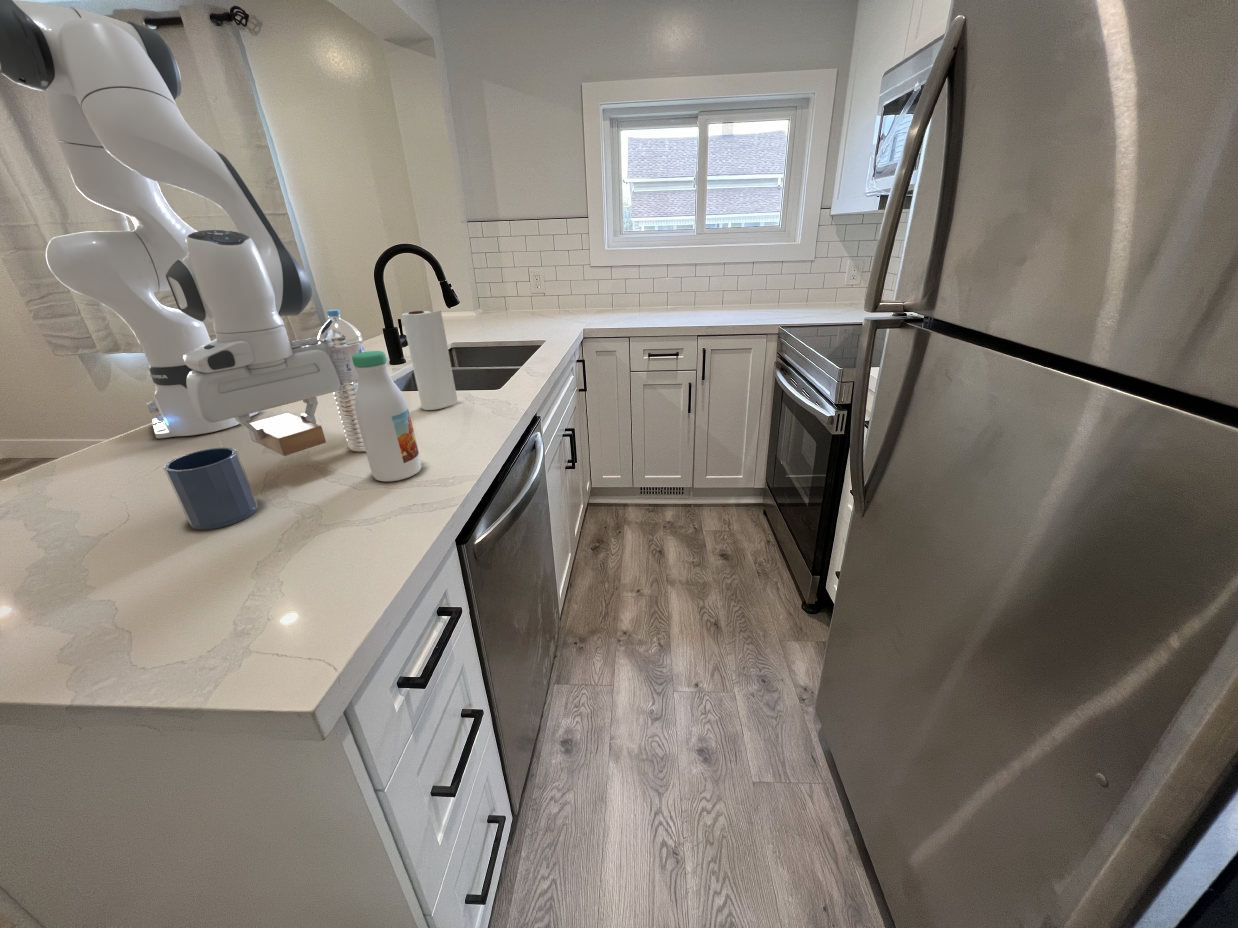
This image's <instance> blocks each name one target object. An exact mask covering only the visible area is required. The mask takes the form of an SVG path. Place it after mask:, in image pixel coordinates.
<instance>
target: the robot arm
mask: <svg viewBox="0 0 1238 928" xmlns="http://www.w3.org/2000/svg"><path fill="white" fill-rule="evenodd" d="M0 74H1V75H3V76H4V77H6V78H7V79H8V80H10V81H11V82H12V83H14V84H17V85H20V86H22V87H26V88H28V89H31V90H36V91H40V92H43V97H44V100H45V105H46V109H47V113H48V116H49V120H50V123H51V126H52V130H53V132H54V135H55V138H56V140H57V143H58V146H59V148H60V151H61V154H62V156H63V158H64V161H65V163H66V167H67V169H68V171H69V174H70V176H71V179H72V181H73V182H72V183H73V184H74V187H76V189H77V191H78V192H79V193H80V194H81V195H82V196H84V198H86V199H87V200H88V201H90V202H91V203H94V204H96V205H98V206H100V207H103V208H106V209H108V210H111V211H113V212H116V213H119V214H122V215H125V216H127V217H129V219H130V220H131V221H132V223H133V226H134V229H133V230H132V229H131V230H111V231H110V230H106V231H105V230H103V231H101V230H100V231H99V230H98V231H81V232H74V233H69V234H64V235H59V236H54V237H52V238H51V239H50V240H49V242H48V244H47V245H46V249H45V259H46V263H47V266H48V268H49V270H50V271H51V273H52V275H53V276H54V277H55V278H56V279H57V280H58V281H59V282H60V283H61V284H62V285H64V286H65V287H66V288H68V289H70V290H71V291H73V292H75V293H77V294H79V295H82V296H85V297H87V298H90V299H92V300H94V301H95V302H98V303H100V304H101V305H103V306H104V307H107V308H108V309H110V310H111V311H112V312H114V313H115V314H116V315H118V316H119V317H120V319H122V321H123V322H125V324H126V325H127V326H128V327H129V329H130V330H131V331H132V333H133V335H134V336H135V338H136V339H137V342H138V344H139V345H140V347H141V349H142V351H143V354H144V355H145V358H146V360H147V362H148V364H149V366H148V371H149V375H150V378H151V379H152V382H153V383H154V384H155V390H154V396H153V400H151V401H149V402H147V403H146V406H147V408H148V410H149V412H150V413H149V414H156V413H159V414H156V415H155V416H156V417H155V418H152V420H151V424H152V427H153V431H154V436H155V438H156V439H167V438H172V437H188V436H189V437H190V436H197V435H204V434H209V433H214V432H218V431H223V430H226V429H229V428H233V427H235V426H238V425H241V426H243V428H245V429H247V431H248V430H249V431H248V433H249V436H250V435H251V436H250V438H252V439H253V440H255V441H258V440H261V439H264V438H266V437H265V434H264V430H263V428H261V427H259V426H257V427H253V426H252V425H251V424H250V423H251V422H250V421H252V418H251V417H253V416H255V415H257V414H259V412H263V411H266V410H270V409H273V408H277V407H281V406H285V405H288V404H293V403H296V402H303V403H304V404H306V406H305V410H304V413H301V414H299V415H300V416H299V417H300V418H302V419H305V420H307V421H310V422H313V423H315V424H317V419H316V416H315V414H316V411H317V407H318V405H319V402H318V397H320V396H324V395H328V394H332V393H333V392H336V391H338V390H339V387H340V380H339V377H338V375H337V372H336V370H335V367H334V365H333V363H332V361H331V359H330V355H329V351H328V348H327V347H326V343H325V342H324V341H323V340H318V337H309V338H307V339H300V340H292V341H291V340H290V339H289V336H288V332H287V329H286V326H285V322H284V320H283V318H282V317H289V316H291V317H293V316H299V315H300V314H301V313H302V312H303V311H304V310H305V309H306V308H307V307H308V305H309V303H310V301H311V299H312V297H313V289H312V285H311V282H310V281H311V280H310V279H309V277H308V275H307V273H306V271H305V270H304V268H303V267H302V265H301V263H300V261H298V260H297V258H296V257H295V256H294V255H293V254H292V253H291V251H290V250H289V249H288V248H287V246H286V245H285V244H284V242H283V240H282V239H281V237H280V236H279V234H278V233H277V231H276V230H275V228H274V226H273V225H272V223H271V222H270V220H269V219H268V217H267V215H266V214H265V212H264V210H263V208H261V206H260V204H259V203H258V201H257V200H256V198H255V196H254V195H253V193H252V192H251V190H250V189H249V186H247V184H246V182H245V181H244V179H243V178H242V177H241V175H240V174H239V172H238V171H237V169H236V168H235V166H233V164H232V163H231V161H230V160H229V158H227V156H225V155H224V154H223V153H221V152H220V151H218V150H216V149H214V148H212V147H211V146H209V145H208V144H207V143H206V142H205V141H204V140H202V138H201V137H200V136H199V135H198V134H197V133H196V132H195V131H194V129H192V128H191V127H190V125H189V124H188V123H187V122H186V120H185V118H184V117H183V115H182V113H181V111H180V110H179V107H178V105H177V103H176V100H178V99H179V98H180V96H181V94H182V78H181V77H182V76H181V72H180V68H179V65H178V62H177V60H176V58H175V56H174V53H173V52H172V49H171V48H170V46H169V44H168V43H167V42H166V41H165V39H164V38H162V37H161V35H160V34H158V33H157V32H155V30H152V29H150V28H149V27H145V26H144V25H140V24H138V23H135V22H132V21H131V20H129V21H127V22H126V21H123V20H119V19H116V18H114V17H110V16H107V15H105V14H101V13H98V12H97V13H96V12H93V11H90V10H86V9H82V8H78V7H73V6H70V7H66V6H61V5H55V4H49V3H43V2H36V1H29V0H0ZM159 183H160V184H164V185H168V186H171V187H174V188H178V189H181V190H183V191H187V192H189V193H193V194H195V195H197V196H200V197H203V198H205V199H206V200H208V201H210V202H212V203H214V204H215V205H217V206H218V207H219V208H220V209H221V210H223V212H224V213H225V214H226V215H227V216H228V218H229V220H230V221H231V222H232V224H233V225H234V227H235V228H236V230H237V231H233V230H223V229H208V230H207V229H206V230H205V229H204V230H199V231H197V230H196V229H194V228H193V227H191V226H190V225H189V224H188V223H186V222H185V221H184V220H182V218H181V217H180V216H179V215H178V214H177V213H176V212H175V211H174V210H173V209H172V207H171V205H169V203H168V202H167V200H166V198H165V197H164V194H163V192H162V190H161V187H160V185H159ZM158 292H171V294H172V296H173V299H174V302H175V304H176V306H177V308H173V307H169V306H165V305H163V304H161V302H160V301H159V300H158V298H157V297H156V295H155V293H158ZM204 322H206V323H212V324H213V326H212V327H213V332H214V334H215V335H214V336H215V338H214V339H213V340H211V337H210V335H209V332H208V329H207V327H206V325H205V323H204ZM319 342H321V343H320V344H319ZM161 421H163V422H161ZM158 422H161V423H158ZM155 423H157V424H156V425H153V424H155ZM252 439H251V440H252Z"/></svg>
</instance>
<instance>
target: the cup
mask: <svg viewBox="0 0 1238 928" xmlns="http://www.w3.org/2000/svg"><path fill="white" fill-rule="evenodd" d="M163 471H164V472H165V475H166V477H167V479H168V481H169V484H170V485H171V486H170V487H172V490H173V492H174V494H175V496H176V499H177V501H178V503H179V505H180V507H181V509H182V511H183V513H184V516H185V518H186V520H187V522H188V523H189V525H190V527H191V528H192V529H195V530H198V531H207V530H208V531H209V530H215V529H220V528H221V529H222V528H224V527H228V526H232V525H234V524H237V523H239V522H241V521H244V520H246V519H248V518H249V517H251V516H252V515H253V514H254V513H257V511H258V509H259V505H258V501H257V498H256V495H255V493H254V491H253V488H252V485H251V483H250V480H249V477H248V475H247V472H246V470H245V467H244V465H243V463H242V459H241V457H240V455H239V452H238V450H237V449H235V448H234V447H225V446H224V447H212V448H207V449H202V450H197V451H194V452H189V453H186V454H183V455H181V456H178V457H176V458H173V459H172V460H170V461H168V462H167V463H165V465H164V467H163Z"/></svg>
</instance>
